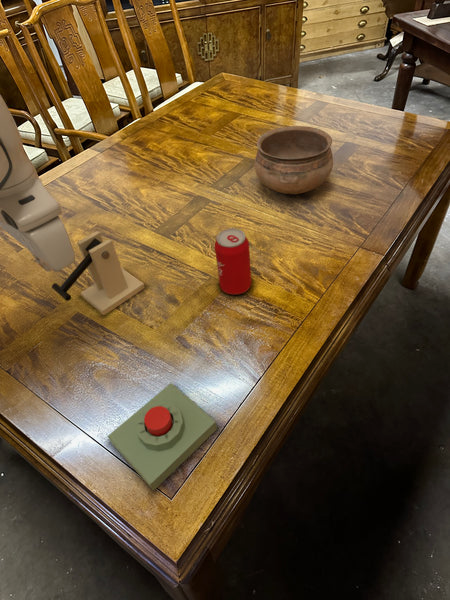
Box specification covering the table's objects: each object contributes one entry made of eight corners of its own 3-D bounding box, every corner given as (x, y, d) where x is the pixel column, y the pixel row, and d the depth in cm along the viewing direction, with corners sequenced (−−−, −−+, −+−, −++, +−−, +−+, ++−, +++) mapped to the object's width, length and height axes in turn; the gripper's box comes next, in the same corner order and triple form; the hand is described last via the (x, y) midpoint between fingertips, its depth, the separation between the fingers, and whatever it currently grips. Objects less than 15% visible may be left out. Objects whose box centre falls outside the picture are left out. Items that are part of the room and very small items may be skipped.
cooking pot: (328, 217, 96) (334, 168, 88) (248, 213, 100) (245, 166, 92) (331, 164, 113) (336, 119, 105) (262, 163, 117) (261, 119, 109)
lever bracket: (104, 315, 80) (82, 264, 71) (82, 296, 84) (58, 246, 75) (145, 287, 85) (129, 236, 76) (122, 271, 89) (104, 221, 80)
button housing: (153, 491, 56) (147, 478, 53) (111, 443, 61) (103, 430, 58) (217, 429, 61) (214, 415, 58) (173, 390, 67) (168, 375, 64)
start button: (157, 441, 57) (155, 434, 56) (141, 424, 59) (138, 418, 58) (177, 422, 58) (175, 416, 57) (161, 407, 60) (159, 401, 59)
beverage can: (236, 271, 86) (231, 222, 77) (258, 285, 82) (255, 235, 74) (213, 286, 83) (206, 238, 75) (235, 301, 79) (230, 252, 71)
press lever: (70, 303, 75) (61, 297, 73) (57, 291, 78) (47, 285, 76) (113, 252, 77) (105, 245, 75) (98, 241, 79) (90, 234, 77)
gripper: (-36, 182, 66) (4, 252, 75) (22, 228, 54) (60, 303, 64) (2, 166, 68) (36, 235, 78) (65, 207, 57) (95, 281, 67)
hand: (47, 266), depth 71 cm, fingers closed
